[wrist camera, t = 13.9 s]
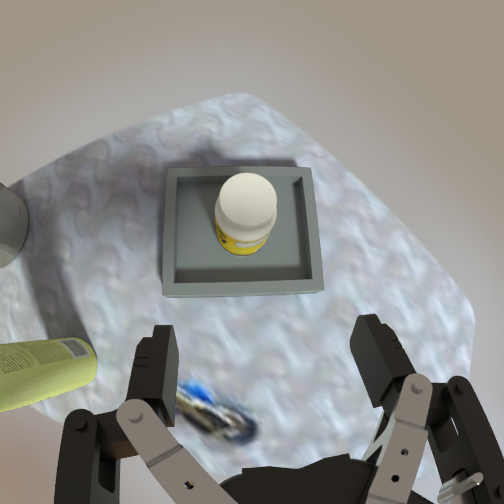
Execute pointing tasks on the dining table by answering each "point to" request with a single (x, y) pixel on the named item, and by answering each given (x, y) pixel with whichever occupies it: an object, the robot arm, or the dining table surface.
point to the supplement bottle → (245, 213)
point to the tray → (225, 264)
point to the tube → (43, 370)
